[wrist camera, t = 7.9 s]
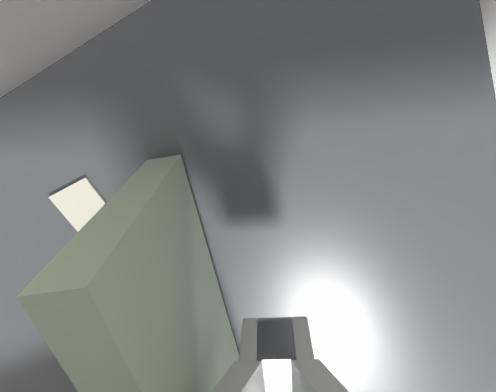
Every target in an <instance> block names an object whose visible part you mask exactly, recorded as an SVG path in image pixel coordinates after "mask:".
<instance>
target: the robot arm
mask: <svg viewBox="0 0 496 392" xmlns="http://www.w3.org/2000/svg"><path fill="white" fill-rule="evenodd" d="M211 392H348V391H347V389H346V388H345V387H344V386H343V385H342V384H341V383H340V382H339V381H338V380H337V378H336V377H335V376H334V375H333V374H332V373H331V372H330V371H329V370H328V369H327V367H326V366H325V365H324V364H323V363H322V362H321V361H320V360H319V359H314V354H313V348H312V342H311V336H310V330H309V325H308V319H307V317H306V316H298V317H275V318H243V321H242V329H241V342H240V356H239V361H235V362H234V363H233V364H232V365H231V367H230V368H229V369H228V371H227V372H226V373H225V375H224V376H223V377H222V378H221V380H220V381H219V382H218V384H217V385H216V386H215V388H214V389H213V390H212V391H211Z"/></svg>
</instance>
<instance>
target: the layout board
mask: <svg viewBox="0 0 496 392" xmlns="http://www.w3.org/2000/svg"><path fill="white" fill-rule="evenodd" d="M174 155H181V158H182V161H183V165H184V168H185V172H186V175H187V178H188V182H189V185H190V189H191V192H192V196H193V199H194V202H195V206H196V209H197V213H198V216H199V220H200V223H201V226H202V230H203V233H204V237H205V240H206V243H207V247H208V250H209V254H210V257H211V261H212V264H213V267H214V271H215V274H216V278H217V281H218V284H219V288H220V291H221V295H222V298H223V302H224V305H225V308H226V312H227V315H228V319H229V322H230V325H231V329H232V332H233V336H234V339H235V343H236V346H237V349H238V353H239V356H240V342H241V329H242V321H243V318H275V317H298V316H306V317H307V319H308V325H309V330H310V336H311V342H312V348H313V354H314V359H319V360H320V361H321V362H322V363H323V364H324V365H325V366H326V367H327V369H328V370H329V371H330V372H331V373H332V374H333V375H334V376H335V377H336V378H337V380H338V381H339V382H340V383H341V384H342V385H343V386H344V387H345V388H346V389H347V391H348V392H496V98H495V92H494V86H493V80H492V74H491V68H490V62H489V56H488V51H487V45H486V39H485V33H484V27H483V21H482V15H481V9H480V4H479V0H152V1H150V2H149V3H147V4H146V5H144V6H143V7H141V8H140V9H138V10H136V11H135V12H133V13H132V14H130V15H129V16H127V17H126V18H124V19H123V20H121V21H119V22H118V23H116V24H115V25H113V26H112V27H110V28H109V29H107V30H106V31H104V32H102V33H101V34H99V35H98V36H96V37H95V38H93V39H92V40H90V41H88V42H87V43H85V44H84V45H82V46H81V47H79V48H78V49H76V50H75V51H73V52H71V53H70V54H68V55H67V56H65V57H64V58H62V59H61V60H59V61H58V62H56V63H54V64H53V65H51V66H50V67H48V68H47V69H45V70H44V71H42V72H41V73H39V74H37V75H36V76H34V77H33V78H31V79H30V80H28V81H27V82H25V83H24V84H22V85H20V86H19V87H17V88H16V89H14V90H13V91H11V92H10V93H8V94H6V95H5V96H3V97H2V98H0V392H78V391H77V389H76V388H75V386H74V385H73V383H72V382H71V380H70V379H69V377H68V376H67V374H66V373H65V371H64V370H63V368H62V367H61V365H60V363H59V362H58V360H57V359H56V357H55V356H54V354H53V353H52V351H51V350H50V348H49V347H48V345H47V344H46V342H45V341H44V339H43V338H42V336H41V335H40V333H39V332H38V330H37V329H36V327H35V326H34V324H33V323H32V321H31V319H30V318H29V316H28V315H27V313H26V312H25V310H24V309H23V307H22V306H21V304H20V303H19V301H18V300H17V298H16V296H17V295H18V294H19V293H20V292H21V291H22V290H23V289H24V288H25V287H26V286H27V285H28V283H29V282H30V281H31V280H32V279H33V278H34V277H35V276H36V275H37V274H38V273H39V272H40V271H41V270H42V269H43V268H44V267H45V266H46V265H47V264H48V263H49V262H50V261H51V260H52V259H53V257H54V256H55V255H56V254H57V253H58V252H59V251H60V250H61V249H62V248H63V247H64V246H65V245H66V244H67V243H68V242H69V241H70V240H71V239H72V238H73V237H74V236H75V235H76V234H77V233H78V231H79V230H80V229H81V228H82V227H83V226H84V225H85V224H86V223H87V222H88V221H89V220H90V219H91V218H92V217H93V216H94V215H95V214H96V213H97V212H98V211H99V210H100V209H101V208H102V207H103V205H104V204H105V203H106V202H107V201H108V200H109V199H110V198H111V197H112V196H113V195H114V194H115V193H116V192H117V191H118V190H119V189H120V188H121V187H122V186H123V185H124V184H125V183H126V182H127V180H128V179H129V178H130V177H131V176H132V175H133V174H134V173H135V172H136V171H137V170H138V169H139V168H140V167H141V166H142V165H143V164H144V163H145V162H146V161H147V160H151V159H157V158H163V157H168V156H174Z"/></svg>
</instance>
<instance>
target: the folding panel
mask: <svg viewBox="0 0 496 392" xmlns="http://www.w3.org/2000/svg"><path fill="white" fill-rule="evenodd" d="M16 298H17V300H18V301H19V303H20V304H21V306H22V307H23V309H24V310H25V312H26V313H27V315H28V316H29V318H30V319H31V321H32V323H33V324H34V326H35V327H36V329H37V330H38V332H39V333H40V335H41V336H42V338H43V339H44V341H45V342H46V344H47V345H48V347H49V348H50V350H51V351H52V353H53V354H54V356H55V357H56V359H57V360H58V362H59V363H60V365H61V367H62V368H63V370H64V371H65V373H66V374H67V376H68V377H69V379H70V380H71V382H72V383H73V385H74V386H75V388H76V389H77V391H78V392H211V391H212V390H213V389H214V388H215V386H216V385H217V384H218V382H219V381H220V380H221V378H222V377H223V376H224V375H225V373H226V372H227V371H228V369H229V368H230V367H231V365H232V364H233V363H234V362H235V361H239V353H238V349H237V346H236V343H235V339H234V336H233V332H232V329H231V325H230V322H229V319H228V315H227V312H226V308H225V305H224V302H223V298H222V295H221V291H220V288H219V284H218V281H217V278H216V274H215V271H214V267H213V264H212V261H211V257H210V254H209V250H208V247H207V243H206V240H205V237H204V233H203V230H202V226H201V223H200V220H199V216H198V213H197V209H196V206H195V202H194V199H193V196H192V192H191V189H190V185H189V182H188V178H187V175H186V172H185V168H184V165H183V161H182V158H181V155H174V156H168V157H163V158H157V159H151V160H147V161H146V162H145V163H144V164H143V165H142V166H141V167H140V168H139V169H138V170H137V171H136V172H135V173H134V174H133V175H132V176H131V177H130V178H129V179H128V180H127V182H126V183H125V184H124V185H123V186H122V187H121V188H120V189H119V190H118V191H117V192H116V193H115V194H114V195H113V196H112V197H111V198H110V199H109V200H108V201H107V202H106V203H105V204H104V205H103V207H102V208H101V209H100V210H99V211H98V212H97V213H96V214H95V215H94V216H93V217H92V218H91V219H90V220H89V221H88V222H87V223H86V224H85V225H84V226H83V227H82V228H81V229H80V230H79V231H78V233H77V234H76V235H75V236H74V237H73V238H72V239H71V240H70V241H69V242H68V243H67V244H66V245H65V246H64V247H63V248H62V249H61V250H60V251H59V252H58V253H57V254H56V255H55V256H54V257H53V259H52V260H51V261H50V262H49V263H48V264H47V265H46V266H45V267H44V268H43V269H42V270H41V271H40V272H39V273H38V274H37V275H36V276H35V277H34V278H33V279H32V280H31V281H30V282H29V283H28V285H27V286H26V287H25V288H24V289H23V290H22V291H21V292H20V293H19V294H18V295H17V296H16Z"/></svg>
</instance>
